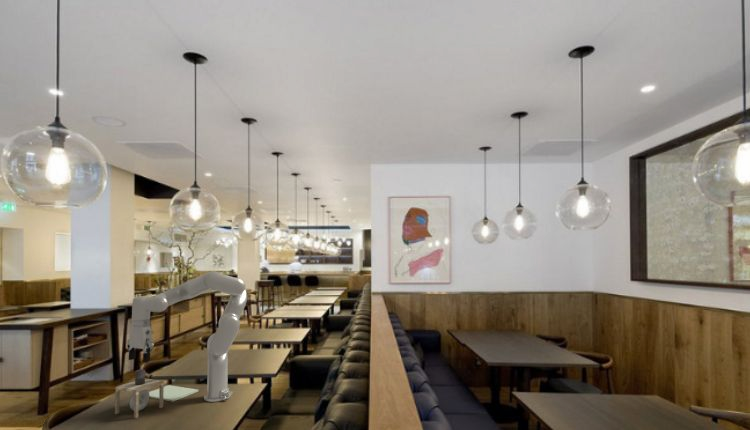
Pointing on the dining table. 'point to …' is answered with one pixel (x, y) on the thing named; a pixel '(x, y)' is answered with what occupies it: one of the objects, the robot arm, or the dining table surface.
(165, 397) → the mat
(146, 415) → the dining table surface
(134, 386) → the miniature stool
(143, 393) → the donut
